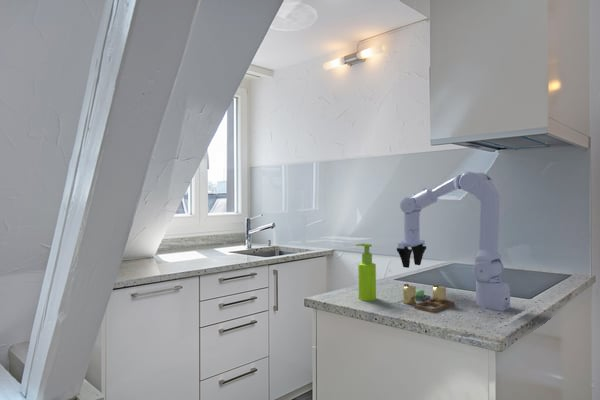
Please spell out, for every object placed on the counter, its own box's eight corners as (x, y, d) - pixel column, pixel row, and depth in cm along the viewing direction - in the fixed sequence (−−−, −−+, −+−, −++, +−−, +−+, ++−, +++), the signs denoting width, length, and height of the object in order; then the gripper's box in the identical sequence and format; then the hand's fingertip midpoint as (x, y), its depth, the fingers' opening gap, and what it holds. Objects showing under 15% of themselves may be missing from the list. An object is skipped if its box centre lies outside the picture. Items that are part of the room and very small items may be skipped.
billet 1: (418, 305, 128) (418, 285, 128) (411, 307, 126) (411, 286, 126) (407, 302, 131) (407, 283, 131) (400, 305, 129) (400, 285, 129)
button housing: (430, 302, 133) (430, 295, 133) (422, 305, 130) (422, 298, 130) (417, 299, 137) (417, 293, 137) (409, 302, 134) (408, 295, 134)
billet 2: (448, 306, 126) (448, 285, 126) (442, 308, 123) (441, 287, 123) (437, 303, 129) (436, 283, 129) (430, 305, 126) (430, 285, 126)
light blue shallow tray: (425, 306, 129) (425, 302, 129) (411, 311, 123) (411, 307, 123) (407, 302, 134) (407, 298, 134) (394, 306, 128) (394, 302, 128)
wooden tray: (456, 308, 125) (456, 301, 125) (435, 317, 117) (435, 309, 117) (433, 304, 131) (433, 297, 131) (412, 311, 123) (412, 304, 123)
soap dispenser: (363, 298, 140) (362, 242, 140) (379, 301, 135) (378, 243, 135) (352, 301, 135) (352, 243, 135) (369, 305, 131) (368, 245, 130)
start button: (425, 298, 133) (425, 290, 133) (421, 300, 131) (420, 292, 131) (418, 297, 136) (417, 289, 136) (413, 298, 134) (413, 290, 134)
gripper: (413, 228, 154) (413, 262, 154) (390, 230, 145) (391, 267, 145) (429, 229, 149) (429, 264, 149) (407, 231, 139) (407, 269, 139)
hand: (411, 266), depth 146 cm, fingers open, 7 cm apart
